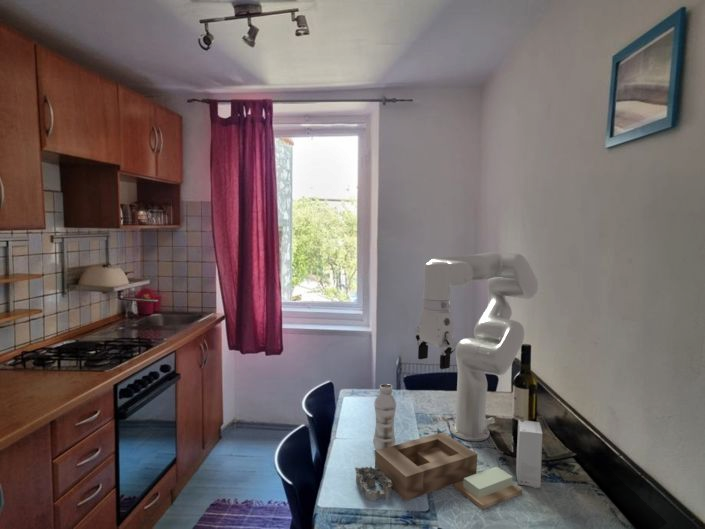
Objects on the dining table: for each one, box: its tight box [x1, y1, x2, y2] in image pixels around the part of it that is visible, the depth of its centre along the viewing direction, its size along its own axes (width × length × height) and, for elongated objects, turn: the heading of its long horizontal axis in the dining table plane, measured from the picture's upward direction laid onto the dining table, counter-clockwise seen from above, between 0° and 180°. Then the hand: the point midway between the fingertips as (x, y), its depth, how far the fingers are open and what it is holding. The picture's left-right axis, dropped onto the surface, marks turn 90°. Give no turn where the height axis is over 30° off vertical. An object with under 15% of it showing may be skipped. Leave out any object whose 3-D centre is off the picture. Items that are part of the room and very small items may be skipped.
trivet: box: [453, 480, 523, 510], centre depth 114 cm, size 14×10×1 cm
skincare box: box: [515, 419, 543, 489], centre depth 119 cm, size 8×6×15 cm
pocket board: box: [374, 432, 478, 502], centre depth 120 cm, size 24×14×6 cm, turn 119°
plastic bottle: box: [372, 383, 397, 450], centre depth 132 cm, size 6×7×20 cm
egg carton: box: [354, 466, 393, 502], centre depth 113 cm, size 11×8×4 cm
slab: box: [463, 466, 514, 498], centre depth 114 cm, size 12×5×2 cm, turn 120°
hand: (433, 363), depth 127 cm, fingers open, 9 cm apart
